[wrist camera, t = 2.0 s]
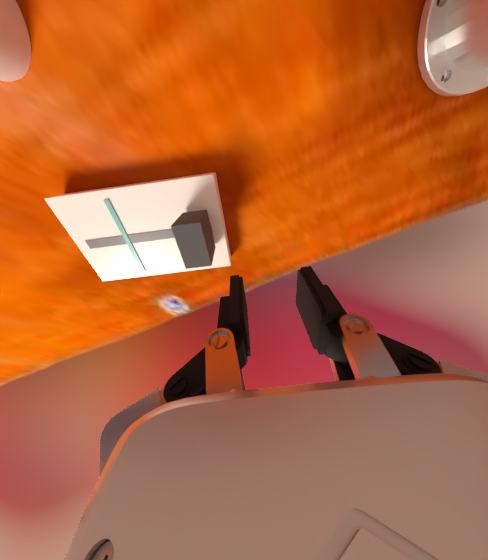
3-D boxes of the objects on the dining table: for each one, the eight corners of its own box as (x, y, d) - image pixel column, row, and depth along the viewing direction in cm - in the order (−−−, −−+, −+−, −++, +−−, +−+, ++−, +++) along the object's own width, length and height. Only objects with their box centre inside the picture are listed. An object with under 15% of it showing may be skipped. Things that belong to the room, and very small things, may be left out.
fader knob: (206, 209, 22) (200, 222, 18) (215, 247, 25) (211, 265, 21) (182, 212, 22) (170, 226, 18) (194, 249, 25) (185, 268, 21)
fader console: (215, 171, 23) (213, 174, 20) (231, 256, 30) (230, 266, 27) (64, 193, 23) (42, 198, 21) (113, 271, 30) (102, 282, 28)
